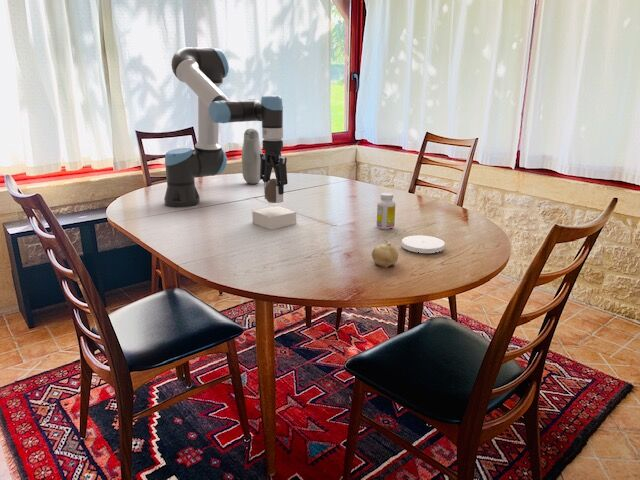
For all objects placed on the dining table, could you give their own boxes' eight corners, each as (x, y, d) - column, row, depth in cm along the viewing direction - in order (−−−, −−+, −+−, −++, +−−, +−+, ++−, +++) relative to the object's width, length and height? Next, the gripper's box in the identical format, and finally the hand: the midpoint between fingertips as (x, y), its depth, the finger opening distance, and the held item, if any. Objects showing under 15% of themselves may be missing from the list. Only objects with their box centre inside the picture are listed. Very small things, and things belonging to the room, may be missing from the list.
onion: (400, 269, 150) (401, 246, 148) (373, 269, 150) (375, 247, 148) (394, 259, 158) (395, 238, 156) (369, 260, 157) (370, 238, 155)
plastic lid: (414, 239, 178) (414, 232, 177) (451, 248, 169) (452, 241, 169) (393, 249, 168) (393, 242, 167) (431, 259, 159) (432, 251, 158)
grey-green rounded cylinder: (239, 183, 263) (236, 128, 254) (255, 180, 270) (253, 127, 261) (250, 186, 256) (248, 130, 248) (266, 183, 263) (265, 128, 254)
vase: (280, 204, 188) (279, 181, 185) (262, 203, 189) (261, 180, 187) (285, 200, 195) (284, 177, 192) (267, 199, 196) (267, 177, 193)
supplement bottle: (395, 225, 192) (397, 193, 188) (392, 230, 186) (394, 196, 182) (378, 224, 195) (380, 191, 190) (374, 228, 189) (376, 195, 184)
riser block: (252, 223, 195) (252, 210, 194) (277, 217, 203) (277, 205, 201) (270, 230, 187) (270, 217, 185) (296, 224, 194) (296, 212, 193)
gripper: (249, 137, 189) (251, 197, 197) (280, 143, 175) (281, 207, 182) (265, 136, 194) (266, 194, 201) (297, 141, 180) (297, 204, 187)
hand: (273, 200), depth 192 cm, fingers closed on vase, 7 cm apart
